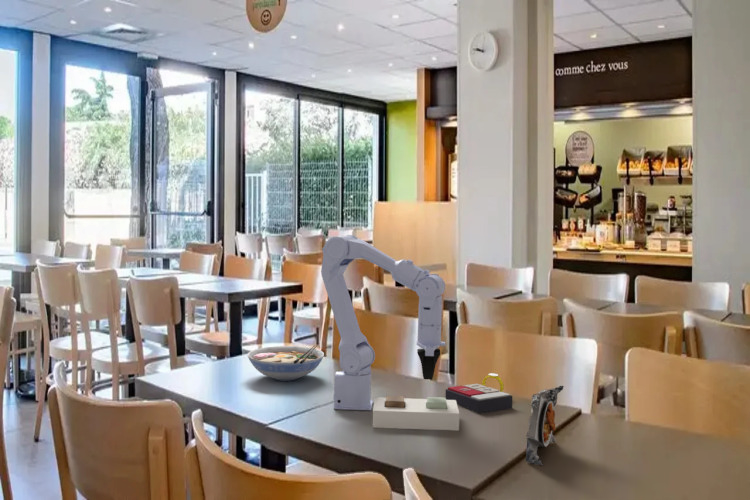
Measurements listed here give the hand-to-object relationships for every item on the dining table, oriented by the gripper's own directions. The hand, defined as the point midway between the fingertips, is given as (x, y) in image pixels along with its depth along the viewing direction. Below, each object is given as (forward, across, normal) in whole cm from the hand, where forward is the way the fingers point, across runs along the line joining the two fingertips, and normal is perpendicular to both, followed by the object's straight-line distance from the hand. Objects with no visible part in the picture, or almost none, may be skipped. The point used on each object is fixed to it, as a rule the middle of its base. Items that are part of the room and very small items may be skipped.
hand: (427, 378), depth 165 cm
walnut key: (+7, -5, +8) cm, 12 cm away
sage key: (+7, -5, -2) cm, 9 cm away
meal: (+9, -22, -24) cm, 34 cm away
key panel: (+9, -5, +3) cm, 11 cm away
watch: (+10, +21, -19) cm, 30 cm away
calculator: (+10, +12, -14) cm, 21 cm away
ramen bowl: (+10, +32, +41) cm, 53 cm away
